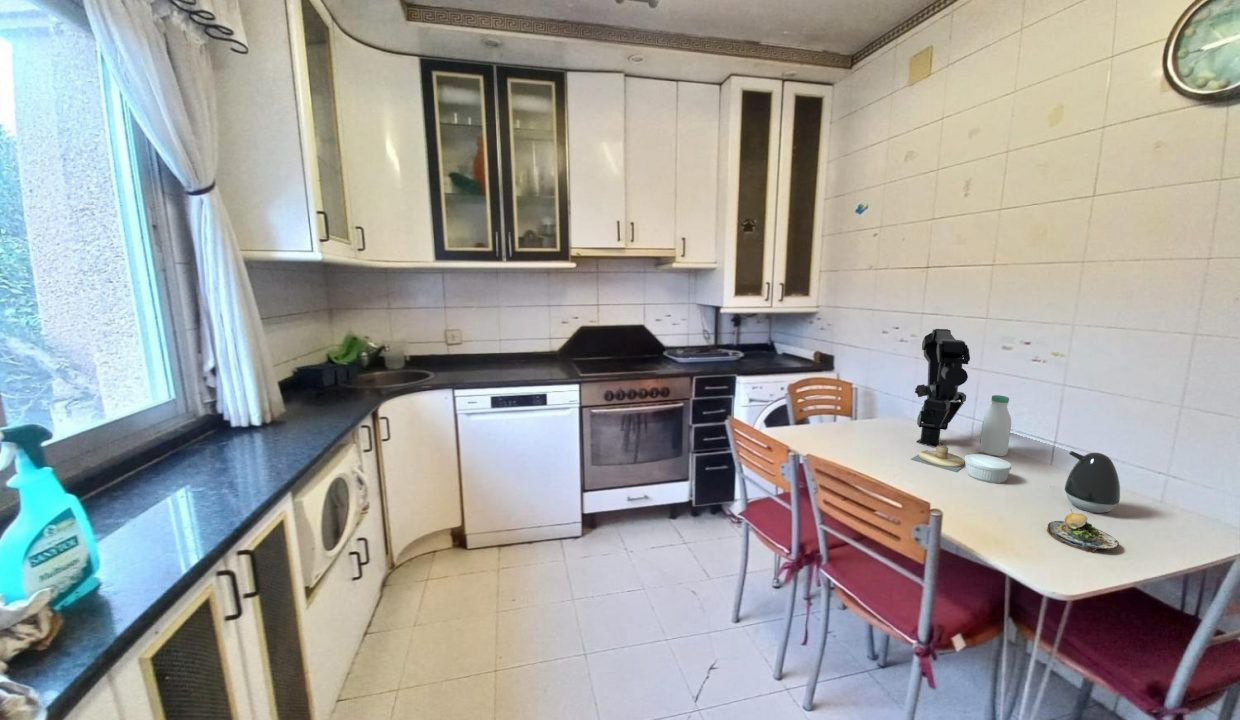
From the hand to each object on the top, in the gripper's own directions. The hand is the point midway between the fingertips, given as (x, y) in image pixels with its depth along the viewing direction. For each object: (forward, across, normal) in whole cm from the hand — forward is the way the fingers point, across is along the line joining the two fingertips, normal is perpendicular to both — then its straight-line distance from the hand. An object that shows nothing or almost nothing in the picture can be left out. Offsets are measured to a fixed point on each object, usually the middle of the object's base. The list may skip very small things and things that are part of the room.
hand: (942, 425), depth 155 cm
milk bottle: (+12, -21, +9) cm, 26 cm away
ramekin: (+12, +5, +14) cm, 19 cm away
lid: (+12, +2, +1) cm, 12 cm away
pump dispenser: (+12, +8, +37) cm, 40 cm away
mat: (+12, +2, +1) cm, 12 cm away
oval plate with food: (+12, +30, +39) cm, 50 cm away
